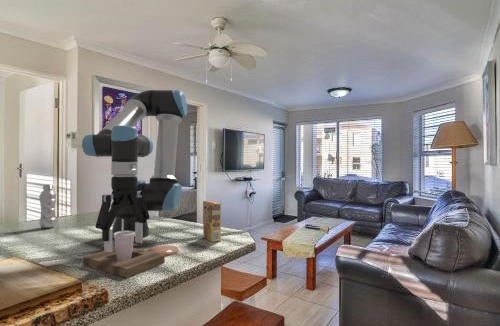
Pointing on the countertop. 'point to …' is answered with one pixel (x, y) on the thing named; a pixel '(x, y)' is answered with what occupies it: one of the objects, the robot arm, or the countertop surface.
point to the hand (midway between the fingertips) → (124, 246)
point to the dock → (124, 262)
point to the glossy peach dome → (164, 250)
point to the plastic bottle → (47, 207)
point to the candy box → (212, 221)
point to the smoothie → (124, 244)
